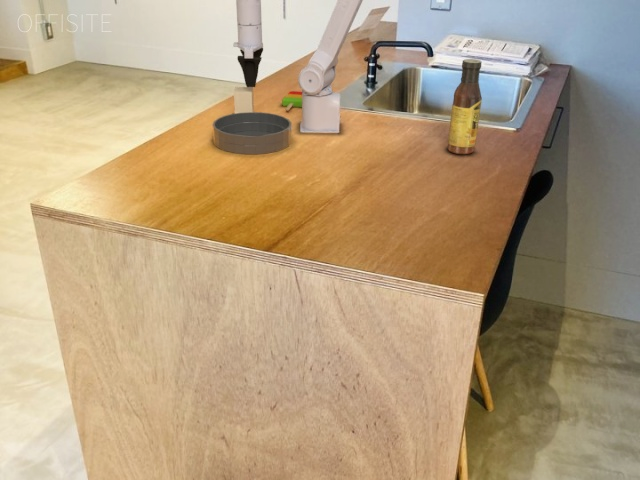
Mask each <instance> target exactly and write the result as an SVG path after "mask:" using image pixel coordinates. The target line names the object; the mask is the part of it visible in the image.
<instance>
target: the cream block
mask: <svg viewBox="0 0 640 480" xmlns="http://www.w3.org/2000/svg"><path fill="white" fill-rule="evenodd" d="M233 105H234V114H235V113H244V112H255V107H254V106H255V105H254V87H247V86H235V87H234V90H233Z"/></svg>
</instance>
